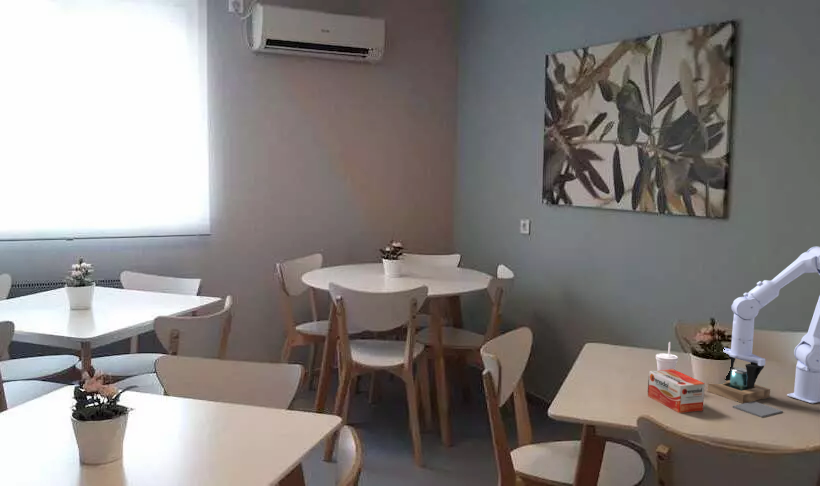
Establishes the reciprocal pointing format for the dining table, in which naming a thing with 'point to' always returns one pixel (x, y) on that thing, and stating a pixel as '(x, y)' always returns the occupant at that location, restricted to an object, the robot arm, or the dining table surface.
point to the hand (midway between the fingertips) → (739, 383)
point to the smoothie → (666, 360)
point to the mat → (757, 409)
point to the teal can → (738, 378)
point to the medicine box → (676, 390)
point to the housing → (739, 392)
